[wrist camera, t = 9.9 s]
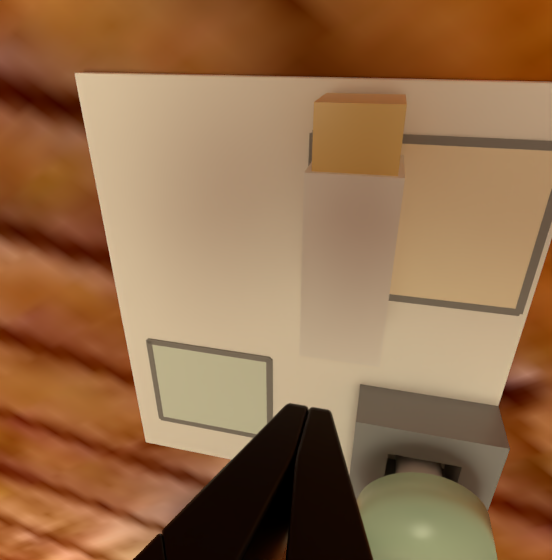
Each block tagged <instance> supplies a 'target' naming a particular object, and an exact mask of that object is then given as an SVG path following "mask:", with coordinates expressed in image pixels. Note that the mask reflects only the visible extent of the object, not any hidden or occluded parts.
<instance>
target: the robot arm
mask: <svg viewBox="0 0 552 560" xmlns="http://www.w3.org/2000/svg"><path fill="white" fill-rule="evenodd" d="M162 535H163V536H162ZM286 545H287V550H286V560H373V556H372V553H371V549H370V546H369V542H368V539H367V535H366V532H365V528H364V525H363V521H362V518H361V514H360V511H359V507H358V504H357V500H356V496H355V493H354V489H353V486H352V482H351V479H350V475H349V472H348V468H347V465H346V461H345V458H344V454H343V451H342V447H341V444H340V440H339V437H338V433H337V430H336V426H335V423H334V419H333V416H332V413H331V411H330V410H328V409H322V408H317V407H311V408H310V409H308V407H307V406H305V405H299V404H293V403H288V404H286V405H285V406H284V407H283V408H282V409H281V410H280V411H279V412H278V413H277V414H276V415H275V416H274V417H273V418H272V419H271V420H270V421H269V422H268V423H267V424H266V425H265V426H264V427H263V428H262V429H261V430H260V431H259V432H258V433H257V434H256V435H255V436H254V437H253V438H252V439H251V441H250V442H249V443H248V444H247V445H246V446H245V447H244V448H243V449H242V450H241V451H240V452H239V453H238V454H237V455H236V456H235V457H234V458H233V459H232V460H231V461H230V462H229V463H228V464H227V465H226V466H225V467H224V468H223V469H222V470H221V471H220V472H219V473H218V474H217V475H216V476H215V477H214V478H213V479H212V480H211V481H210V482H209V483H208V484H207V485H206V486H205V487H204V488H203V489H202V490H201V491H200V492H199V493H198V494H197V495H196V496H195V497H194V498H193V500H192V501H191V502H190V503H189V504H188V505H187V506H186V507H185V508H184V509H183V510H182V511H181V512H180V513H179V514H178V515H177V516H176V517H175V518H174V519H173V520H172V521H171V522H170V523H169V524H168V525H167V526H166V527H165V528H164V529H163V531H162V534H158V535H157V536H156V537H155V538H154V539H153V540H152V541H151V542H150V543H149V544H148V545H147V546H146V547H145V548H144V549H143V550H142V551H141V552H140V553H139V554H138V555H137V556H136V557H135V558H134V559H133V560H282V558H283V555H284V552H285V549H286Z"/></svg>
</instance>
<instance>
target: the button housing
mask: <svg viewBox="0 0 552 560" xmlns="http://www.w3.org/2000/svg"><path fill="white" fill-rule="evenodd" d="M509 450H510V448H509V444H508V440H507V437H506V433H505V429H504V425H503V422H502V418H501V414H500V411H499V407H498V406H495V405H489V404H482V403H476V402H470V401H464V400H457V399H451V398H445V397H438V396H432V395H426V394H419V393H413V392H407V391H400V390H394V389H388V388H382V387H375V386H369V385H363V384H360V390H359V398H358V406H357V415H356V423H355V432H354V440H353V449H352V457H351V465H350V474H349V475H350V479H351V482H352V486H353V489H354V493H355V496H356V500H357V499H358V496H359V494H360V493H361V491H362V490H363V489H364V488H365V487H366V486H367V485H368V484H370V483H371V482H372V481H374V480H376V479H378V478H381V477H384V476H387V475H391V474H395V470H396V460H395V459H390V458H387V457H388V454H394V455H399V456H404V457H410V458H415V459H420V460H426V461H431V462H436V463H442V464H445V467H444V469H443V468H442V477H443V478H446V479H449V480H452V481H454V482H456V483H458V484H460V485H462V486H464V487H466V488H467V489H468V490H470V491H471V492H473V493H474V494H475V495H476V496H477V497H478V498H479V499H480V500H481V501H482V502H483V504H484V505H485V507H486V509H487V511H488V509H489V506H490V503H491V500H492V497H493V495H494V492H495V489H496V486H497V483H498V481H499V478H500V475H501V472H502V469H503V467H504V464H505V461H506V458H507V455H508V453H509Z"/></svg>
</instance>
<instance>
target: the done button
mask: <svg viewBox="0 0 552 560" xmlns="http://www.w3.org/2000/svg"><path fill="white" fill-rule="evenodd" d="M357 504H358V507H359V511H360V514H361V518H362V521H363V525H364V528H365V532H366V535H367V539H368V542H369V546H370V549H371V553H372V556H373V560H497V554H496V549H495V544H494V539H493V533H492V528H491V523H490V517H489V514H488V511H487V509H486V507H485V505H484V504H483V502H482V501H481V500H480V499H479V498H478V497H477V496H476V495H475V494H474V493H473V492H471V491H470V490H468V489H467V488H466V487H464V486H462V485H460V484H458V483H456V482H454V481H452V480H449V479H446V478H443V477H442V468H441V463H436V462H431V461H426V460H420V459H415V458H410V457H404V456H399V455H396V470H395V474H391V475H387V476H384V477H381V478H378V479H376V480H374V481H372V482H371V483H370V484H368V485H367V486H366V487H365V488H364V489H363V490H362V491H361V493H360V494H359V496H358V499H357Z"/></svg>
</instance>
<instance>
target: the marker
mask: <svg viewBox="0 0 552 560" xmlns="http://www.w3.org/2000/svg"><path fill="white" fill-rule="evenodd" d="M406 108H407V101H406V95H404V94H356V93H325V94H324V95H323V96H321V97H320V98H319V99H317V100H316V101H315V102H314V113H313V142H312V162H311V163H310V165H309V166H308V167H307V169H306V170H305V172H304V191H303V229H302V267H301V305H300V344H299V356H306V357H313V358H320V359H327V360H334V361H341V362H348V363H355V364H361V365H368V366H375V367H380V361H381V353H382V346H383V338H384V331H385V324H386V316H387V309H388V301H389V294H390V286H391V279H392V271H393V264H394V256H395V249H396V241H397V234H398V226H399V219H400V212H401V204H402V197H403V189H404V182H405V169H404V156H402V155H401V148H402V140H403V132H404V124H405V116H406Z"/></svg>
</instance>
